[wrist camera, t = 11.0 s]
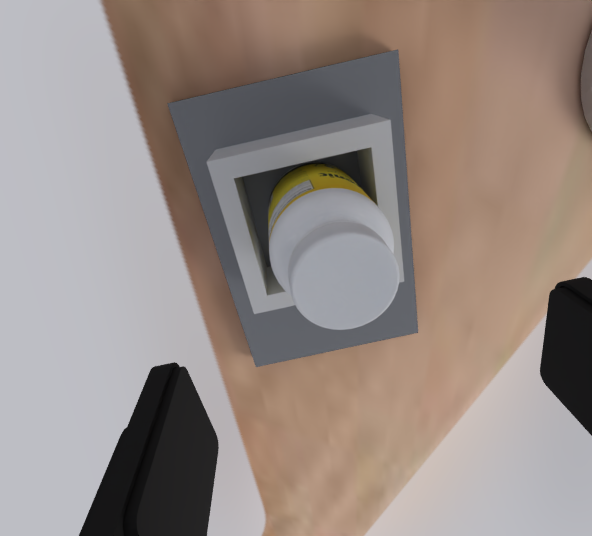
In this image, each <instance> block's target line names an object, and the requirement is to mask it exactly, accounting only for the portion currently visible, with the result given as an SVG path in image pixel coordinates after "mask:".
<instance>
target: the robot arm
mask: <svg viewBox="0 0 592 536" xmlns="http://www.w3.org/2000/svg"><path fill="white" fill-rule="evenodd" d="M581 101H582V106H583V111H584V116H585V119H586V121H587V123H588V125H589V127H590V130H591V132H592V31H591V34H590V37H589V40H588V43H587V46H586V49H585V54H584V60H583V66H582V72H581ZM540 374H541V377H542V380H543V382H544V383H545V384H546V386H547V387H548V388H549V389H550V390H551V391H552V392H553V393H554V395H555V396H556V397H557V398H558V399H559V400H560V401H561V402H562V403H563V405H564V406H565V407H566V408H567V409H568V410H569V411H570V412H571V413H572V414H573V415H574V416H575V418H576V419H577V420H578V421H579V422H580V423H581V424H582V425H583V427H584V428H585V429H586V430H587V431H588V432H589V433H590V434H591V435H592V280H591V279H589V278H587V277H582V278H577V279H572V280H567V281H562V282H559V283H557V285H556V286H555V289H554V290H552V291H551V292H550V295H549V303H548V311H547V319H546V327H545V335H544V343H543V350H542V358H541V367H540ZM217 456H218V439H217V435H216V433H215V431H214V428H213V426H212V424H211V422H210V420H209V417H208V415H207V413H206V411H205V408H204V406H203V404H202V402H201V400H200V397H199V395H198V393H197V391H196V388H195V386H194V384H193V382H192V380H191V377H190V376H189V374H188V371H187V369H186V368H185V367H179V365H178V364H177V363H170V364H165V365H160V366H155V367H153V368H152V369H151V371H150V373H149V375H148V378H147V380H146V382H145V385H144V387H143V390H142V392H141V395H140V397H139V400H138V402H137V405H136V407H135V409H134V412H133V415H132V417H131V419H130V422H129V424H128V427H127V428H126V429H124V431H123V432H122V434H121V436H120V438H119V441H118V443H117V446H116V448H115V450H114V453H113V455H112V458H111V460H110V462H109V465H108V467H107V470H106V472H105V474H104V477H103V479H102V482H101V484H100V486H99V489H98V491H97V494H96V496H95V498H94V501H93V503H92V506H91V508H90V510H89V513H88V515H87V518H86V520H85V523H84V525H83V527H82V530H81V532H80V534H79V536H207V529H208V522H209V515H210V507H211V500H212V492H213V485H214V478H215V470H216V464H217Z"/></svg>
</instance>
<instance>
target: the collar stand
mask: <svg viewBox="0 0 592 536" xmlns="http://www.w3.org/2000/svg"><path fill="white" fill-rule="evenodd" d="M168 107H169V110H170V113H171V116H172V119H173V122H174V125H175V128H176V131H177V134H178V137H179V140H180V143H181V146H182V149H183V152H184V154H185V157H186V160H187V163H188V166H189V169H190V172H191V175H192V178H193V181H194V184H195V187H196V190H197V193H198V196H199V199H200V202H201V205H202V208H203V211H204V214H205V217H206V220H207V223H208V226H209V229H210V232H211V235H212V238H213V241H214V244H215V247H216V250H217V253H218V256H219V258H220V261H221V264H222V267H223V270H224V273H225V276H226V279H227V282H228V285H229V288H230V291H231V294H232V297H233V300H234V303H235V306H236V309H237V312H238V315H239V318H240V321H241V324H242V327H243V330H244V333H245V336H246V339H247V342H248V345H249V348H250V351H251V354H252V357H253V360H254V363H255V365H256V367H259V366H263V365H268V364H273V363H277V362H282V361H287V360H292V359H296V358H301V357H306V356H310V355H315V354H320V353H324V352H329V351H334V350H338V349H343V348H348V347H353V346H357V345H362V344H367V343H371V342H376V341H381V340H385V339H390V338H395V337H399V336H404V335H409V334H414V333H418V324H417V310H416V295H415V281H414V267H413V253H412V239H411V224H410V210H409V196H408V182H407V167H406V153H405V139H404V125H403V110H402V96H401V82H400V68H399V54H398V50H394V51H389V52H385V53H381V54H377V55H372V56H368V57H364V58H360V59H355V60H351V61H347V62H343V63H338V64H334V65H330V66H325V67H321V68H317V69H313V70H308V71H304V72H300V73H296V74H291V75H287V76H283V77H279V78H274V79H270V80H266V81H261V82H257V83H253V84H249V85H244V86H240V87H236V88H232V89H227V90H223V91H219V92H215V93H210V94H206V95H202V96H197V97H193V98H189V99H185V100H180V101H176V102H172V103H168ZM307 162H324V163H329V164H331V165H334V166H336V167H338V168H340V169H341V170H343V171H344V172H345V173H346V174H347V175H349V176H350V177H351V178H352V179H353V180H354V181H355V183H357V185H358V186H359V187H360V188H361V189H362V190H363V191H364V192H365V193H366V194H367V195H368V196H369V197H370V198H371V199H372V200H373V202H374V203H375V204H376V205H377V206H378V207H379V208H380V210H381V211H382V212H383V214H384V215H385V217H386V218H387V220H388V222H389V224H390V227H391V230H392V233H393V238H394V253H393V255H394V257H395V258H396V261H397V264H398V268H399V285H398V290H397V292H396V295H395V297H394V299H393V301H392V302H391V304H390V305H389V307H388V308H387V309H386V310H385V311H384V312H383V313H382V314H381V315H380V316H379V317H377V318H376V319H374V320H373V321H371V322H369V323H367V324H365V325H363V326H360V327H356V328H353V329H345V330H335V329H328V328H324V327H321V326H318V325H316V324H314V323H312V322H311V321H309V320H308V319H306V318H305V317H304V316H303V315H302V314H301V313H300V312H299V310H298V309H297V307H296V306H295V304H294V301H293V299H292V296H291V295H289V294H288V293H287V292H286V291H285V290H284V289H283V288H282V286H281V285H280V284H279V282H278V281H277V279H276V277H275V275H274V273H273V270H272V267H271V262H270V255H269V235H268V234H269V231H268V203H269V198H270V195H271V192H272V190H273V188H274V186H275V184H276V183H277V181H278V180H279V179H280V178H281V177H282V175H284V174H285V173H286V172H287V171H289V170H290V169H292V168H293V167H295V166H298V165H300V164H303V163H307Z"/></svg>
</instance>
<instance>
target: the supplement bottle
mask: <svg viewBox="0 0 592 536" xmlns="http://www.w3.org/2000/svg"><path fill="white" fill-rule="evenodd" d="M268 231H269V234H268V235H269V255H270V262H271V267H272V270H273V273H274V275H275V277H276V279H277V281H278V282H279V284H280V285H281V286H282V288H283V289H284V290H285V291H286V292H287V293H288V294H289V295H291V296H292V299H293V301H294V304H295V306H296V307H297V309H298V310H299V312H300V313H301V314H302V315H303V316H304V317H305V318H306V319H308V320H309V321H311V322H312V323H314V324H316V325H318V326H321V327H324V328H328V329H335V330H345V329H353V328H356V327H360V326H363V325H365V324H367V323H369V322H371V321H373V320H374V319H376V318H377V317H379V316H380V315H381V314H382V313H383V312H384V311H385V310H386V309H387V308H388V307H389V305H390V304H391V302H392V301H393V299H394V297H395V295H396V292H397V290H398V285H399V268H398V264H397V261H396V258H395V257H394V255H393V253H394V238H393V233H392V230H391V227H390V224H389V222H388V220H387V218H386V217H385V215H384V214H383V212H382V211H381V210H380V208H379V207H378V206H377V205H376V204H375V203H374V202H373V200H372V199H371V198H370V197H369V196H368V195H367V194H366V193H365V192H364V191H363V190H362V189H361V188H360V187H359V186H358V185H357V183H355V181H354V180H353V179H352V178H351V177H350V176H349V175H347V174H346V173H345V172H344V171H343V170H341V169H340V168H338V167H336V166H334V165H331V164H329V163H324V162H307V163H303V164H300V165H298V166H295V167H293V168H292V169H290V170H289V171H287V172H286V173H285V174H284V175H282V177H281V178H280V179H279V180H278V181H277V183H276V184H275V186H274V188H273V190H272V192H271V195H270V198H269V203H268Z"/></svg>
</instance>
